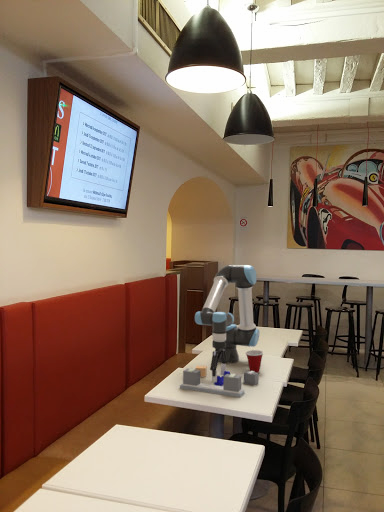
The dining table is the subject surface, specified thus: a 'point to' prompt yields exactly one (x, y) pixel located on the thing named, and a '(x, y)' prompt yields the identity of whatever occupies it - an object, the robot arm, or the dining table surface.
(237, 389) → the rail fixture
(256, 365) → the plastic cup
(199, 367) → the terminal block
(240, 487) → the dining table surface
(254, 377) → the block
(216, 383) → the cable clip
